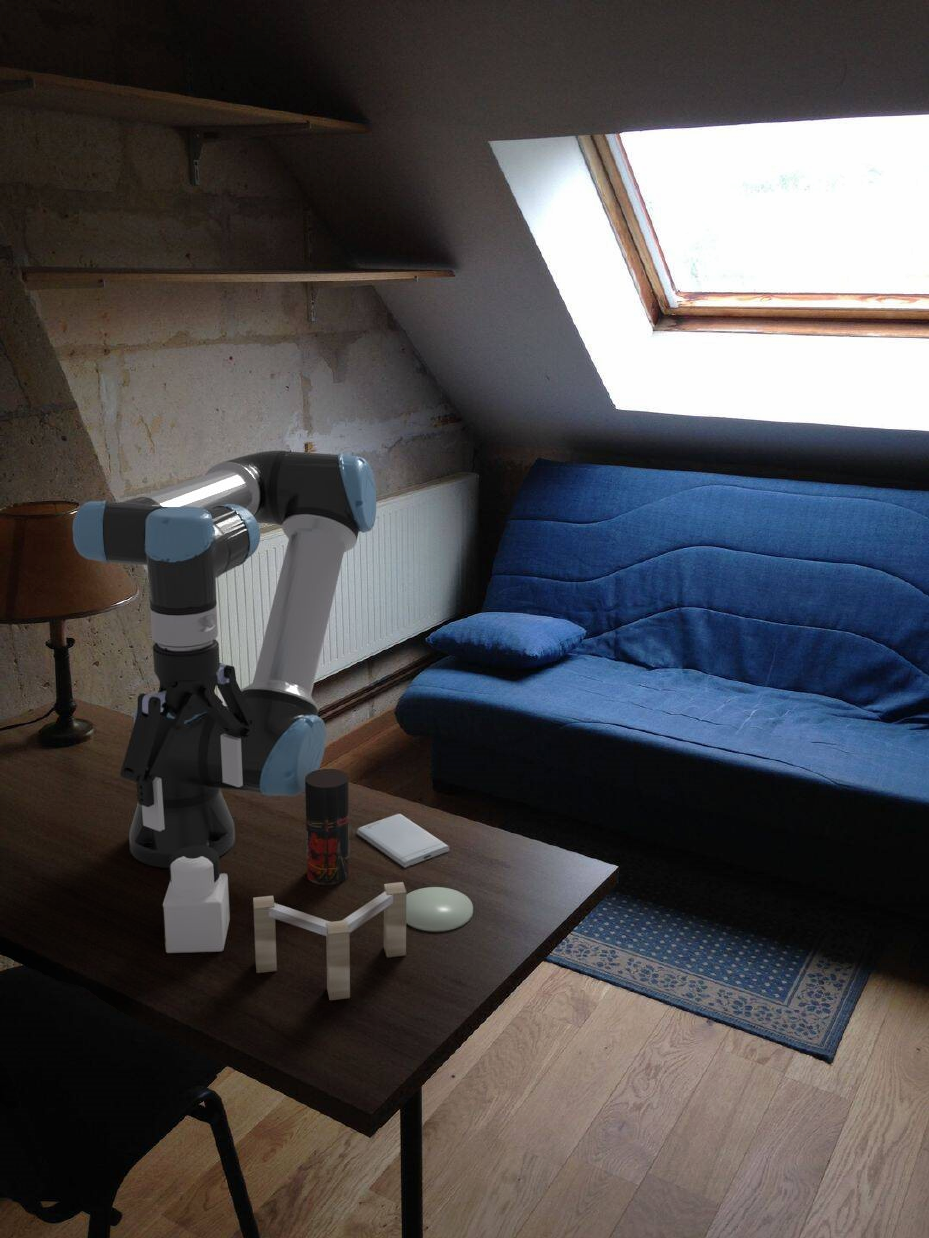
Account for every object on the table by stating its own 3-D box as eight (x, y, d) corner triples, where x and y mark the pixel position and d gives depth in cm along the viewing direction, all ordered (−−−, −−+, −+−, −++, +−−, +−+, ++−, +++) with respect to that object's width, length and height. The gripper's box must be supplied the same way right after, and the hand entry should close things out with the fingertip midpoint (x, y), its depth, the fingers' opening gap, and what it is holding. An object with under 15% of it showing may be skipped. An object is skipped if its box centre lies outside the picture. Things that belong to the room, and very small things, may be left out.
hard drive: (356, 827, 167) (404, 861, 157) (400, 812, 172) (449, 844, 162) (356, 837, 167) (404, 871, 158) (400, 822, 172) (449, 854, 163)
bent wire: (255, 961, 136) (253, 897, 133) (402, 944, 140) (402, 881, 137) (260, 1009, 127) (257, 941, 124) (416, 989, 131) (417, 923, 128)
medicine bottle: (174, 921, 143) (169, 839, 140) (230, 920, 144) (226, 838, 140) (165, 954, 137) (159, 868, 133) (223, 952, 137) (219, 867, 134)
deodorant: (300, 870, 156) (297, 774, 152) (337, 859, 159) (336, 765, 155) (318, 889, 152) (317, 791, 147) (356, 877, 155) (356, 781, 150)
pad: (392, 894, 151) (392, 891, 151) (463, 886, 153) (463, 883, 153) (405, 935, 142) (406, 932, 141) (480, 926, 144) (481, 923, 144)
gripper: (127, 679, 116) (140, 856, 123) (279, 619, 137) (284, 774, 143) (78, 665, 120) (93, 838, 126) (233, 609, 140) (240, 760, 147)
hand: (195, 804), depth 135 cm, fingers open, 13 cm apart
